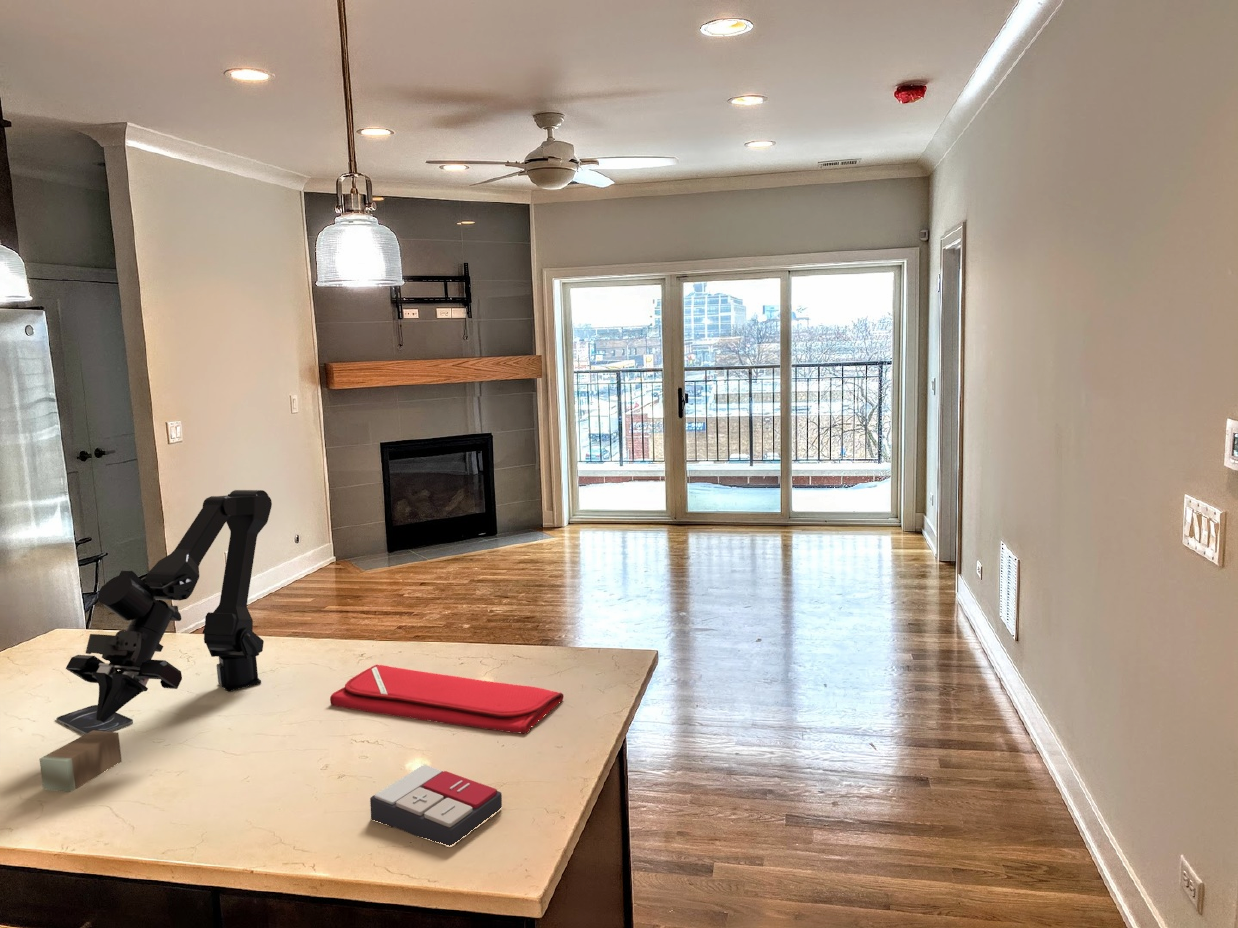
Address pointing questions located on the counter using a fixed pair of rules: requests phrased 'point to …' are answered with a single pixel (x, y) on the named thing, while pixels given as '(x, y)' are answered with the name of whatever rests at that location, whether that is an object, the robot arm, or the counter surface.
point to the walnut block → (80, 761)
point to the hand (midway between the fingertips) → (99, 721)
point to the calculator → (435, 804)
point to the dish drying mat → (446, 699)
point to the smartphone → (93, 721)
